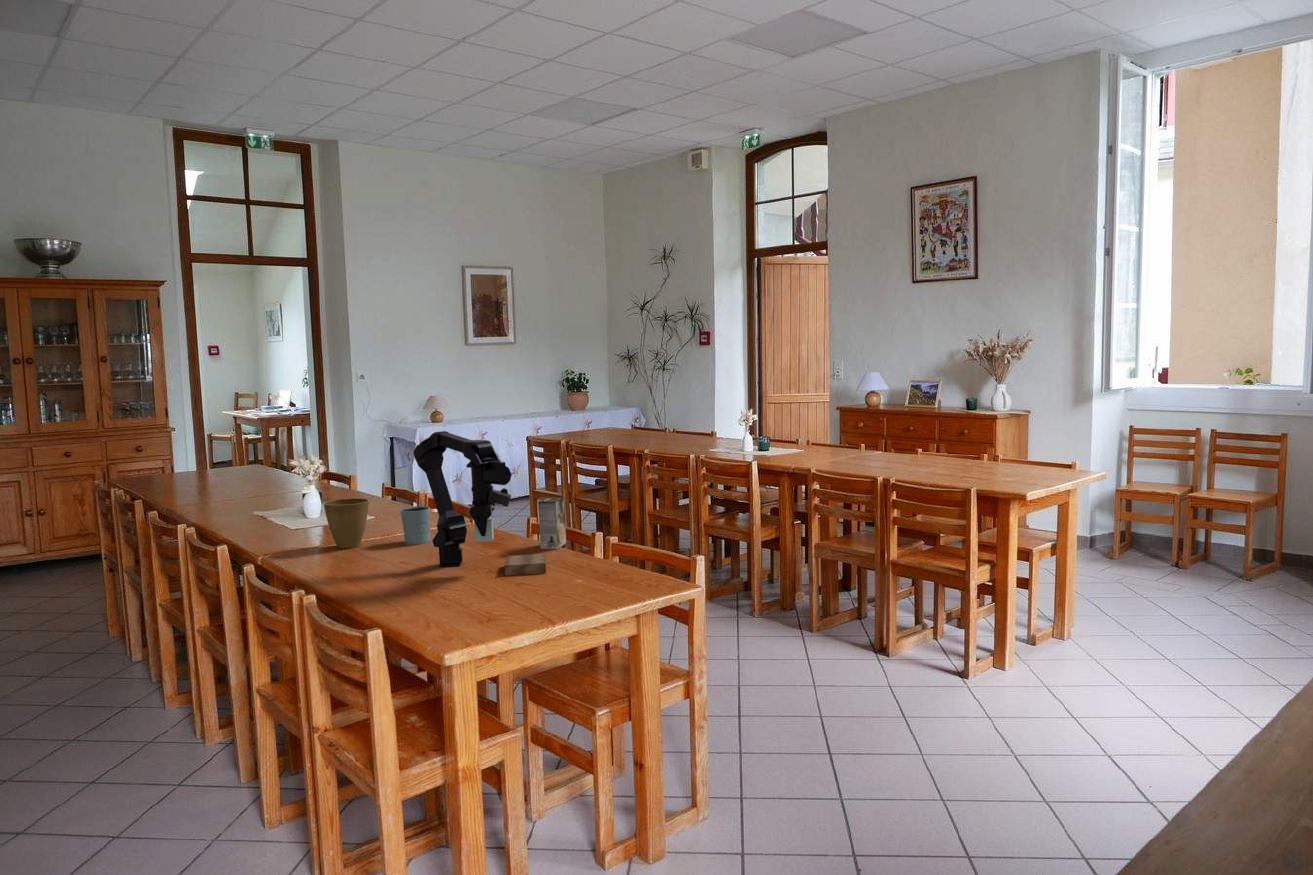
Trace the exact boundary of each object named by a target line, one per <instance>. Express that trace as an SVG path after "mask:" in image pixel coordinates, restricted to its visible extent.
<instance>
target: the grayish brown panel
mask: <svg viewBox="0 0 1313 875" xmlns="http://www.w3.org/2000/svg"><path fill="white" fill-rule="evenodd" d="M547 563H548V562H547V553H538V554H522V555H521V554H520V555H519V554H518V555H507V556H506V559H505V563H504V576H517V575H534V574H536V575H537V574H546V573H547Z"/></svg>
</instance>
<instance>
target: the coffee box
mask: <svg viewBox="0 0 1313 875" xmlns="http://www.w3.org/2000/svg"><path fill="white" fill-rule="evenodd" d="M537 503H538V522H539V541H540V550H559V549H560V548H561V547H563V546H564V545H565V544H566V543H567V533H566V532H567V531H566V509H565V497H563V496H562V497H561V496H560V497H559V496H558V497H557V496H556V497H555V496H553V497H552V496H551V497H545V498H544V499H542V500H540V501H538V502H537ZM544 544H547V545H544ZM552 546H554V547H552ZM555 547H558V548H559V549H558V548H555Z"/></svg>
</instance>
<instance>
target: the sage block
mask: <svg viewBox="0 0 1313 875" xmlns="http://www.w3.org/2000/svg"><path fill="white" fill-rule="evenodd" d="M473 522H474V521H473ZM473 524H474V538H475V540H474V541H475V542H479V543H480V542H491V541H494V539H495V538H494V537H495V536H494V533H495V532H494V519H493V517H489V518H488V520H487V528H486V535H485V536H481V534H480V532H479V530H478V528H477V526H476V524H475V522H474V523H473Z"/></svg>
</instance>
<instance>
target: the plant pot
mask: <svg viewBox="0 0 1313 875" xmlns="http://www.w3.org/2000/svg"><path fill="white" fill-rule="evenodd" d="M369 503H370V500H369V499H367V498H361V497H360V498H359V497H355V498H354V497H353V498H351V497H349V498H339V499H334V500H328V501H324V502H323V508H324V512H325V517H326V522H327V524H328V527H329V530H330V533H331V535H332V538H333V540H334V543H335V545H336V547H337V548H338V549H352V548H353V549H354V548H358V547H359V546H360V545H361V543H362V539H363V536H364V532H365V530H366V529H365V528H366V525H367V519H368V513H369Z"/></svg>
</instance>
